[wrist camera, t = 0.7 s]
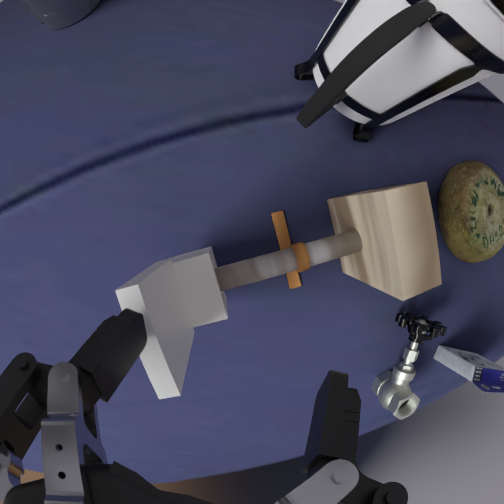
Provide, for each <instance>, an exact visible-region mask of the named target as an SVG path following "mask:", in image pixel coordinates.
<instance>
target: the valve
mask: <svg viewBox="0 0 504 504" xmlns="http://www.w3.org/2000/svg"><path fill="white" fill-rule="evenodd" d="M395 321H396V322H399V324H398V326H400V327H403V328H405V327H406V324H407V325H408V332H409V334H410V335H409V338H408V339H409V340H410V341H411V344H410V346H407V347H406V348H405V350H404V353H403V356H402V358H404V361H402V362H400V364H396V365H395V366H394V368H393V371H392V373H391V372H390V371H389V370H388V371H386V372H384V373H382V374H380V375H378V376H376V378H375V380H374V383H373V385H372V388H371V389H372V390H373V391H374V393H375V394H376V395H377V396H378V398H379V401H380V403H381V405H382V406H383V407H384V408H386V409H388V410H390V411H391V412H392V414H393V415H395V416H396V417H397V418H399V419H400V420H401V419H404V418H406V417H408V416H410V415H411V414H413V413H414V412H415V410H416V409H417V407H418V404H419V401H420V399H419V398H418V397H417V396H416V395H415V394H414V393H413V392H412V391H411V388H410V386H409V382H410V381H412V380H413V378H414V376H415V373H416V371H415V369H413V367H414V365H413V364H412V362H414V361H416V359H417V357H418V354H419V350H418V349H417V347H418V344H422V343H423V342H424V340H431V339H433V338H434V337H435V338H437V337H438V335H439V332H440V331H441V332H440V335H441V336H444V335H445V333H446V330H447V327H445V326H443V325H441V324H442V323H441V322H439V321H430V320H428V317H426V316H420V317H417V316H414V314H412V313H408V312H406V314H403V313H397V316H396V319H395ZM427 332H431V333H430V335H426V333H427Z"/></svg>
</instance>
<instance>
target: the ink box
mask: <svg viewBox="0 0 504 504" xmlns="http://www.w3.org/2000/svg"><path fill="white" fill-rule="evenodd" d="M433 358H434V359H435V360H437V361H439V362H440V363H442V364H444V365H445V366H447V367H449V368H450V369H452V370H454V371H455V372H457V373H458V374H460V375H462V376H463V377H465V378H467V379H468V380H470V381H471V383H473V384H474V385H475V386H476V387H477V388H478V389H479V390H480V391H481V392H482V393H504V368H502V367H501V366H499V365H497V364H495V363H493V362H492V361H490V360H488V359H486V358H484V357H482V356H481V355H479V354H477V353H473V352H468V351H463V350H459V349H454V348H450V347H446V346H441V345H439V346H438V348H437V350H436V352H435V355H434V357H433ZM492 387H500V388H501V389H496V388H492Z"/></svg>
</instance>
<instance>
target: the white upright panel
mask: <svg viewBox="0 0 504 504" xmlns="http://www.w3.org/2000/svg"><path fill="white" fill-rule="evenodd" d="M214 268H217V264H216V261H215V257H214V254H213V250H212V246H211V247H207V248H203V249H200V250H196V251H193V252H189V253H185V254H182V255H178V256H175V257H171V258H169V259H165V260H161V261H158V262H155V263H154V264H152V265H151V266H150V267H148V268H147V269H145V270H144V271H142V272H141V273H139V274H138V275H137V276H135V277H134V278H132V279H131V280H129V281H128V282H127V283H125V284H124V285H122V286H121V287H119V288H118V289H117V290H115V291H116V294H117V297H118V300H119V303H120V306H121V309H122V311H123V310H124V309H126V308H128V309H131V310H134V311H136V312H139V313H141V314H142V315H143V317H144V323H145V328H146V333H147V343H146V346H145V348H144V349H143V351H142V352H141V354H140V355H139V356H140V358H141V360H142V363H143V365H144V367H145V370H146V372H147V374H148V376H149V379H150V381H151V383H152V385H153V387H154V389H155V392H156V394H157V396H158V398H159V399H164V398H170V397H175V396H181V391H182V387H183V382H184V377H185V373H186V368H187V364H188V359H189V355H190V350H191V346H192V341H193V337H194V333H195V332H194V329H193V327H197V326H201V325H205V324H209V323H213V322H217V321H221V320H224V319H228V311H227V299H226V296H225V292H224V291H221V290H220V287H219V284H218V280H217V277H216V273H215V270H214Z"/></svg>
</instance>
